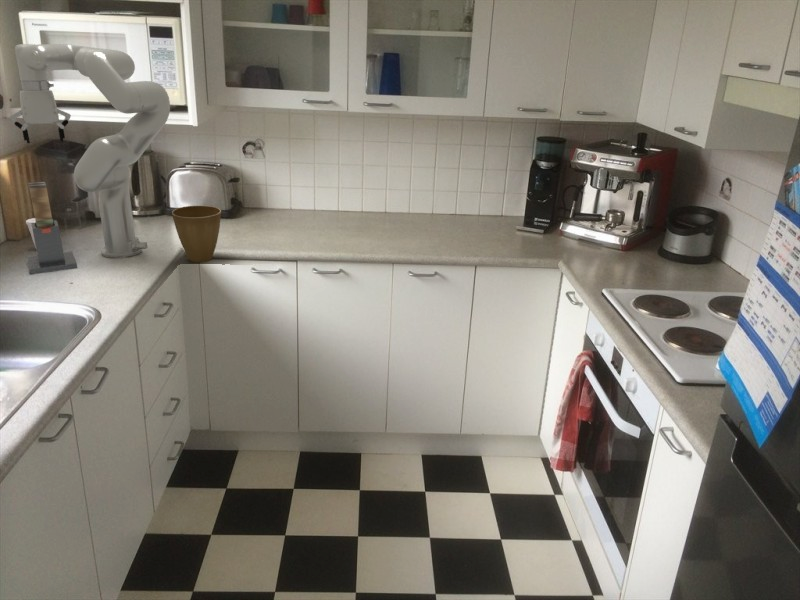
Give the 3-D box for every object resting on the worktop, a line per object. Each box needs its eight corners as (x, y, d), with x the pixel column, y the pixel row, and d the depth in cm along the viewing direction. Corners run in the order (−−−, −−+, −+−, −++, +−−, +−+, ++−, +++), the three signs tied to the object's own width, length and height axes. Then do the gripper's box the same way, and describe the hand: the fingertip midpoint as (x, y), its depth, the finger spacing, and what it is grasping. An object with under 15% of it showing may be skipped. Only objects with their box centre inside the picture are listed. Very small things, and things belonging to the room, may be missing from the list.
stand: (73, 255, 213) (66, 216, 208) (77, 267, 203) (70, 227, 198) (27, 261, 207) (19, 221, 202) (30, 274, 197) (21, 232, 192)
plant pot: (171, 265, 207) (165, 216, 201) (185, 251, 220) (180, 204, 214) (218, 266, 207) (214, 217, 201) (229, 252, 221) (225, 205, 214)
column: (55, 240, 205) (45, 181, 198) (57, 244, 202) (46, 184, 195) (39, 241, 203) (28, 183, 196) (40, 245, 200) (29, 186, 193)
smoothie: (43, 251, 217) (35, 210, 211) (26, 250, 218) (18, 208, 212) (56, 246, 222) (49, 205, 217) (40, 244, 224) (32, 204, 218)
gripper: (64, 85, 213) (73, 138, 219) (3, 86, 205) (14, 141, 211) (67, 86, 207) (75, 142, 213) (3, 87, 199) (15, 145, 205)
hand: (45, 141), depth 212 cm, fingers open, 9 cm apart
